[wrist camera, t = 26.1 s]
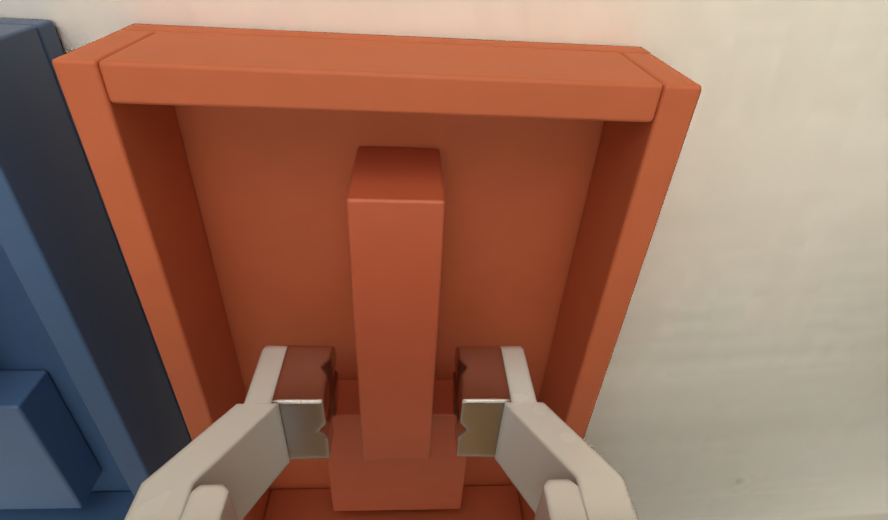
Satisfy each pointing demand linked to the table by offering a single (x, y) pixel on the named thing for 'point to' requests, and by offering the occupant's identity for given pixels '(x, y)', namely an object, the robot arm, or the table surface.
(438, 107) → the terracotta tray
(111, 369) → the blue tray
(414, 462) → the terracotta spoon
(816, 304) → the table surface
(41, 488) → the paddle
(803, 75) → the table surface
